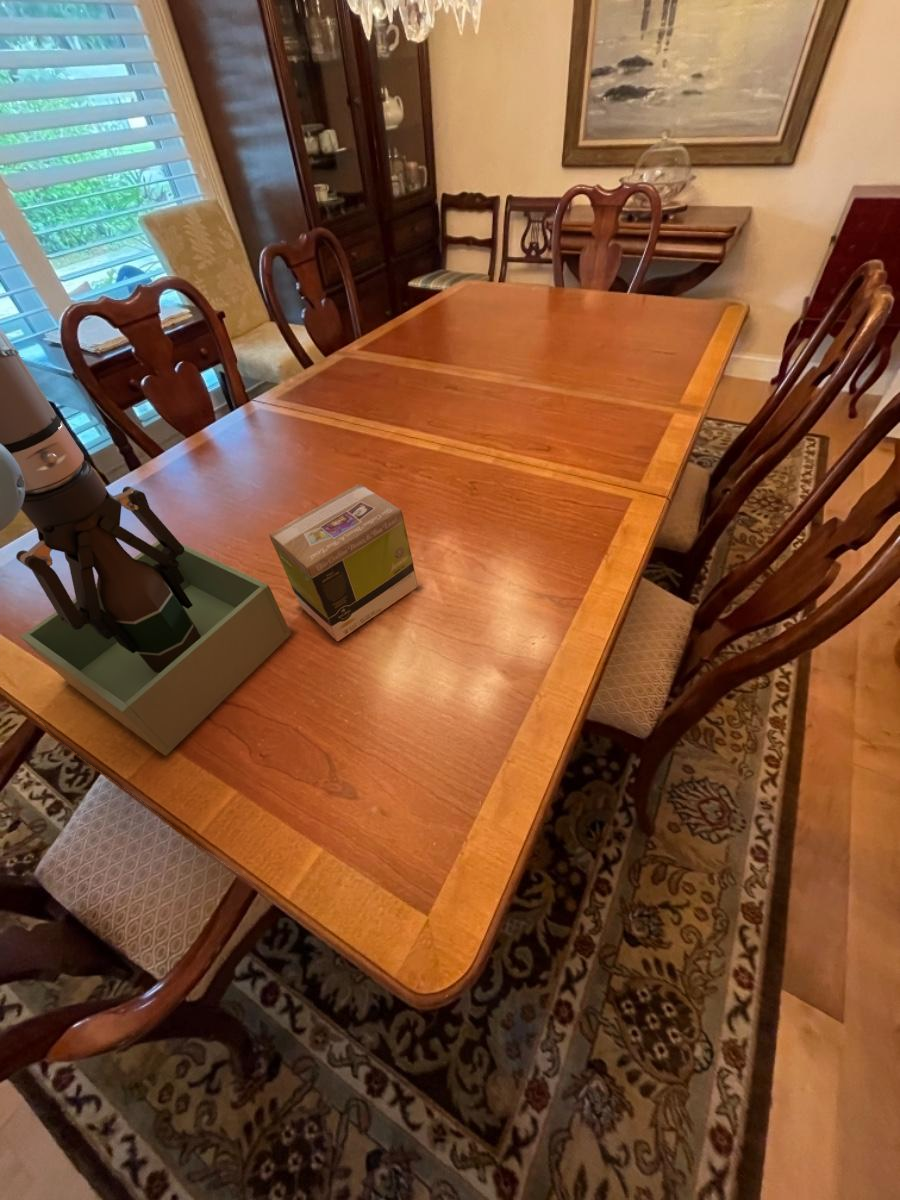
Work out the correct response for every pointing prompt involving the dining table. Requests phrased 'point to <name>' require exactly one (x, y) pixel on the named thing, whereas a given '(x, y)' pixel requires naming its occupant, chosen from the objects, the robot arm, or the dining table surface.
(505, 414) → the dining table surface
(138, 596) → the beer bottle
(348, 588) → the tea box
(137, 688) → the open storage bin
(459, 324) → the dining table surface
